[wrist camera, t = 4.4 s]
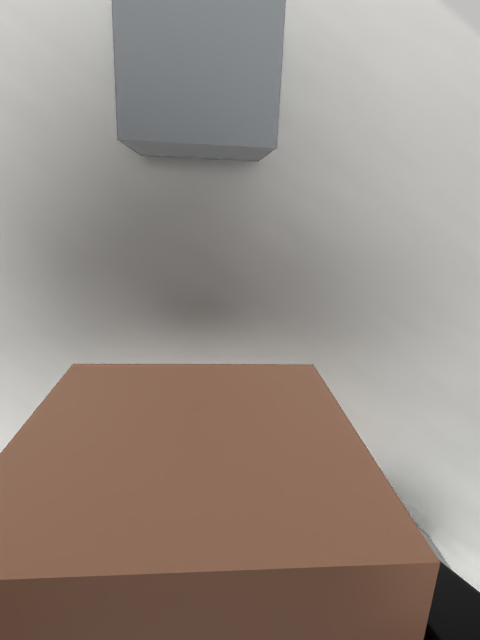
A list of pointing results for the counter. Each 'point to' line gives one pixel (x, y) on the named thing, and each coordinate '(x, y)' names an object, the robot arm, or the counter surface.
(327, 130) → the counter surface
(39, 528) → the terracotta cube
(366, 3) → the counter surface
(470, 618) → the robot arm
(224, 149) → the slate cube
